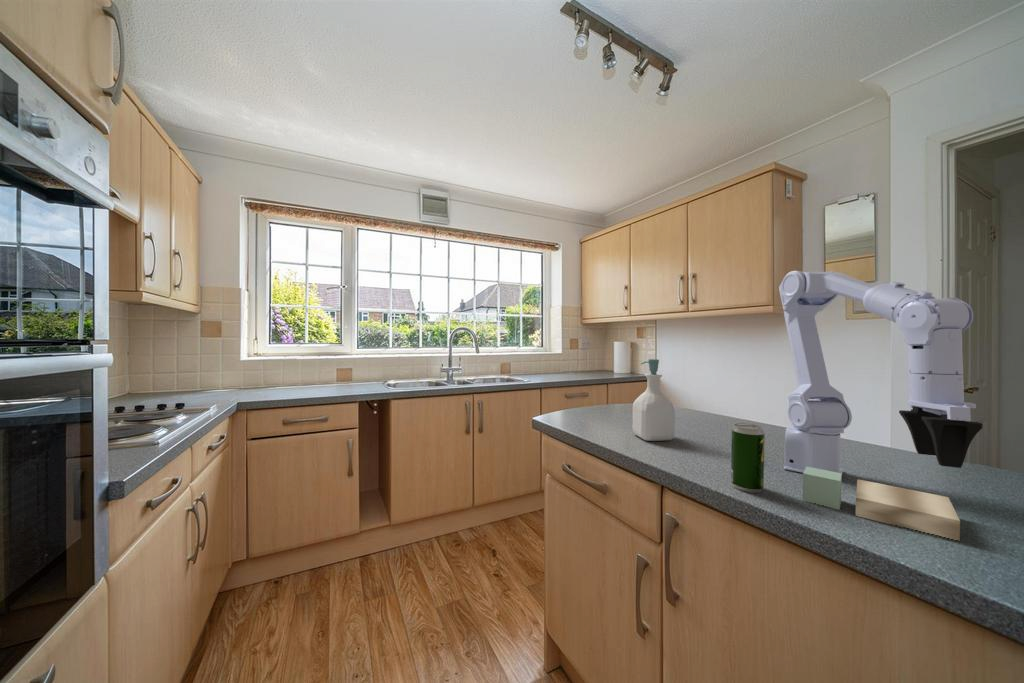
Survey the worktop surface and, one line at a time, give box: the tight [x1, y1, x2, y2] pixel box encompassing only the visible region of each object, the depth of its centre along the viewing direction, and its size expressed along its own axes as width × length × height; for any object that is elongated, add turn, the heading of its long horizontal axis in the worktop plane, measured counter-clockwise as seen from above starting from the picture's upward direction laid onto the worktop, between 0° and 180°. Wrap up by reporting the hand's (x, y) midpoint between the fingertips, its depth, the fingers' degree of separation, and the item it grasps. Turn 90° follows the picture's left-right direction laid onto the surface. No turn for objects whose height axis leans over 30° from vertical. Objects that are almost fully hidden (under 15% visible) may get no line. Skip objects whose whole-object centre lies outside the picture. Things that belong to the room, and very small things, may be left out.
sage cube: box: [802, 466, 843, 511], centre depth 67 cm, size 5×5×5 cm
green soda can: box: [730, 422, 766, 494], centre depth 72 cm, size 5×5×12 cm
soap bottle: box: [632, 358, 676, 442], centre depth 107 cm, size 10×10×23 cm
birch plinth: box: [855, 478, 961, 542], centre depth 61 cm, size 11×11×3 cm
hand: (937, 460), depth 59 cm, fingers open, 7 cm apart
